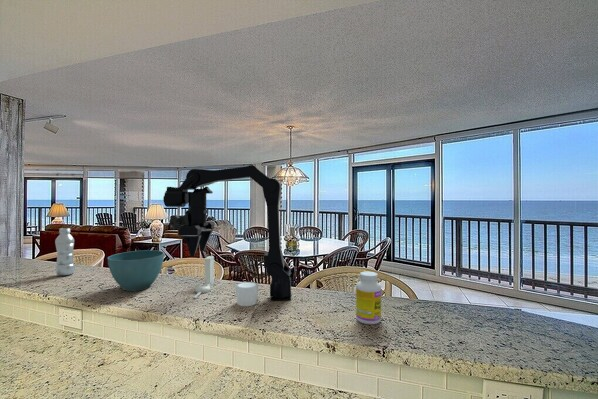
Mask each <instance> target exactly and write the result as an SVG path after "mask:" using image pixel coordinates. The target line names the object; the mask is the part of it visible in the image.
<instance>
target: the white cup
mask: <svg viewBox="0 0 598 399" xmlns="http://www.w3.org/2000/svg"><path fill="white" fill-rule="evenodd" d="M258 290H259V284H258V283H257V282H254V281H243V282H242V281H241V282H238V283H236V284H235V295H236V296H235V297H236V304H237V306H241V307H251V306H255V307H254V309H257V302H258V295H259V294H258Z"/></svg>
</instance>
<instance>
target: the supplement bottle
mask: <svg viewBox="0 0 598 399" xmlns="http://www.w3.org/2000/svg"><path fill="white" fill-rule="evenodd" d="M378 277H379V276H378V273H377V272H373V271H362V272H361V271H360V272H359V278H360V281H358V282H357V283H356V288H355V289H356V292H355V293H356V295H355V296H356V297H355V299H356V300H355V304H356V305H355V309H356V310H355V318H356V320H357V321H358V322H359V323H362V324H365V325H376V324H379V323H380V322H381V319H382V286H381V284H380V283H379V282H378V281H377V280H378V279H379V278H378Z"/></svg>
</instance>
